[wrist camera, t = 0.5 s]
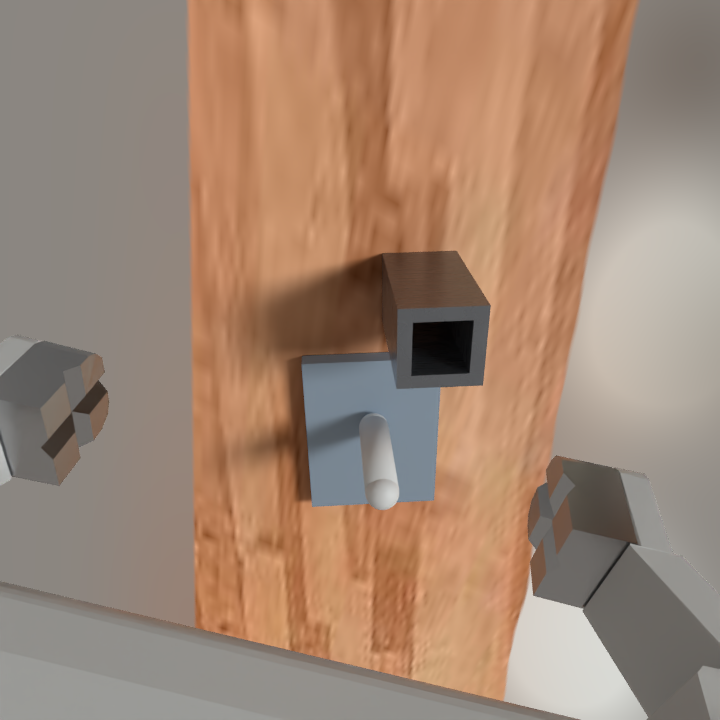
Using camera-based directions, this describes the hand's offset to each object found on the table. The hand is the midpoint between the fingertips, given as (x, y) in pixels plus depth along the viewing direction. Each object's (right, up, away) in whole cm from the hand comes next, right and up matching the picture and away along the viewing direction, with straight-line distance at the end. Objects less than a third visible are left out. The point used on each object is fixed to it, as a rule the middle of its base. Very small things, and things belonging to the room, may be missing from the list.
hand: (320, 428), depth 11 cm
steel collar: (+6, +7, +38) cm, 39 cm away
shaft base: (+2, -5, +45) cm, 45 cm away
